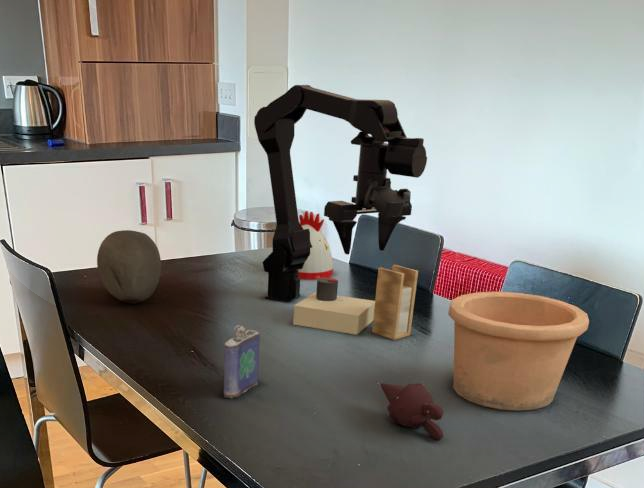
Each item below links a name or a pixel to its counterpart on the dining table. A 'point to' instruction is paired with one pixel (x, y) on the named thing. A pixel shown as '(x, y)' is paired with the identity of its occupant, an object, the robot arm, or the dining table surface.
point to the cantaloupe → (129, 265)
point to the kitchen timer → (316, 250)
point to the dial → (327, 289)
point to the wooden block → (334, 314)
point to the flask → (241, 362)
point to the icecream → (413, 407)
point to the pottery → (512, 347)
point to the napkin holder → (394, 302)
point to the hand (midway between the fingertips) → (364, 252)
